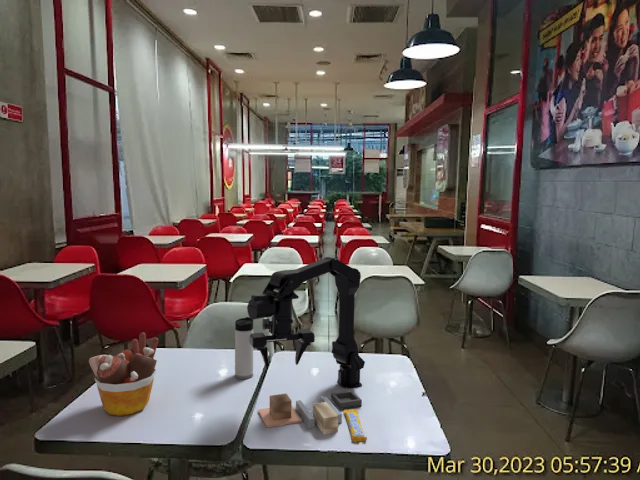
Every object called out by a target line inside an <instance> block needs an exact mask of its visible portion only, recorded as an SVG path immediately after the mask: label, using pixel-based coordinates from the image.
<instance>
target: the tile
mask: <svg viewBox="0 0 640 480" xmlns="http://www.w3.org/2000/svg"><path fill="white" fill-rule="evenodd" d="M269 409H270V407H265V408H259V409H257V411H258V413H259V415H260V417H261V419H262V421H263V423H264V425H265V427H266V428H272V427H280V426H284V425H286V426H287V425H290V424H291V425H292V424H297V423H302V422H303V419H302V417H301V416H300V414H299V413H298V411H297V410H296V408H295V407H294V406H293V405H292V406H291V418H287V419H281V420H275V421H274V420H273V418H272V416H271V414H270V413H269Z"/></svg>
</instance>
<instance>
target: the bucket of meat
mask: <svg viewBox="0 0 640 480" xmlns="http://www.w3.org/2000/svg"><path fill="white" fill-rule="evenodd" d="M138 336H139V337H138V339H137V338H133V339H132V340H131V348H127V349H123V350H122V351H120V353H118V354H117V355H115V354H114V355H111V354H100V355H96V356H92V357H90V358H89V360H88V363H89V365H90V366H89V367H90V368H91V369H92V372H93V373H94V375H95V376H94V381H95V383H96V387H97V390H98V391H97V392H98V394H99V398H100V401H101V405H102V408H103V410H105V412H107V414H109V415H111V416H118V417H123V416H129V415H130V416H131V415H133V414H137V413H139V412H140V411H143V410H144V409H145V407H146V406H147V405H148V403H149V402H150V398H151V394H152V390H153V384H154V380H155V375H156V372H157V369H156V366H157V362H158V360H157V359H154V357H155V354H156V352H157V347H158V345H159V342H160V339H159V338H158V337H154V338H153V339H152V341H151V345H150V348H149V347H147V334H146V333H145V332H140V334H139V335H138Z"/></svg>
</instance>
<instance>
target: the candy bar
mask: <svg viewBox="0 0 640 480" xmlns="http://www.w3.org/2000/svg"><path fill="white" fill-rule="evenodd" d="M343 414H344V415H345V416H344V417H345V419H346V422H347V425H348V429H349V433H350V436H351V441H352V442H354V443H359V442H367V441H368V438H367V437H368V436H365V433H364V431H363V428H362V425H361V421H360V418H359V410H358V409H357V408H354V409H353V408H348V409H343Z"/></svg>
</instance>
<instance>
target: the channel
mask: <svg viewBox="0 0 640 480" xmlns="http://www.w3.org/2000/svg"><path fill="white" fill-rule="evenodd" d="M322 402H327V404H328V405H329V406H330V407H331V408H332V409H333V411H334V412H335V413H336V414H337V415H338V424H342V421H343V414H342V413H341V411H340V409H339V408H338V407H337V406H336V405H335V404H334V403H333V402H332V401H331V399H329V398H328V397H327V396H321V402H320V403H322ZM338 409H339V410H338ZM295 410H296V412H297V413H298V415H299V416H300V418H301V419H302V421H304V423H305V425H306V426H307V427H308V429H315V425H316V423H315V418H314V417H313V413H311V412H310V410H309V409H308V408H307V406H306V405H305V404H304V402H303V401H302V400H301V399H300V400H296V401H295Z"/></svg>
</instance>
